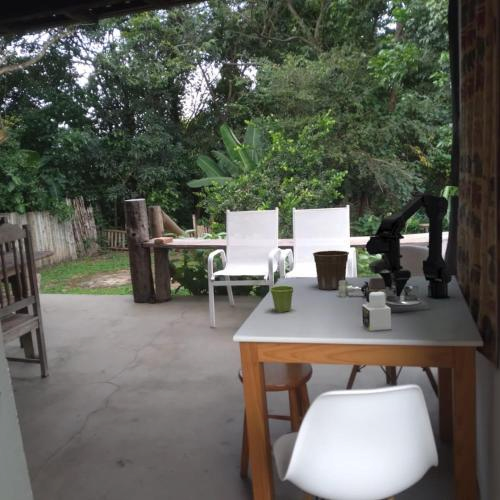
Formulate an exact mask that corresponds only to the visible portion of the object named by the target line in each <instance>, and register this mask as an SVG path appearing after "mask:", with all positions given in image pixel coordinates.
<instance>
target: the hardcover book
mask: <svg viewBox="0 0 500 500" xmlns="http://www.w3.org/2000/svg"><path fill="white" fill-rule="evenodd" d="M405 285H408V284H407V283H406V284H405ZM391 286H395V283H394V281H392V285H391ZM368 287H369V289H368V291H371V290H380V291H383V292H385V293H386V287H385V284H384V281H383V278H382V277H377V278H376V277H371V278H370V279H369V282H368ZM401 293H404V288H403V290H402V292H401Z"/></svg>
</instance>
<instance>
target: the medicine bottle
mask: <svg viewBox="0 0 500 500" xmlns="http://www.w3.org/2000/svg"><path fill="white" fill-rule="evenodd" d="M365 299H366V302H365V304H362V305H361V306H362V307H361V308H362V309H361V313H362V325H363V327H364V328H365V329H367V330H368V331H369V332H374V331H384V330H387V331H388V330H391V329H392V318H391V317H392V313H391V308H390V307H388V306H387V305H385V304H386V292H383V291H380V290H371V291H368V292H367V293H366V297H365Z"/></svg>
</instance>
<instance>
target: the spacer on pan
mask: <svg viewBox="0 0 500 500" xmlns="http://www.w3.org/2000/svg"><path fill="white" fill-rule="evenodd" d="M403 296H404V299H405V300H409V301H414V300H418V298H419V285H417V284H407V285H405V286H404V292H403Z"/></svg>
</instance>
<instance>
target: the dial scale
mask: <svg viewBox="0 0 500 500" xmlns="http://www.w3.org/2000/svg"><path fill="white" fill-rule="evenodd" d="M385 305H387V306H388V307H390V308H391V314H393V313H394V314H395V313H403V312H405V313H406V312H414V311H415V312H416V311H426V309H429V310H430V304H429V303H428V302H426V301H424V300H422V299H420V298H419V297H418V300H414V301H409V300H405V299H404V295H400V301H399V302H388V301H386V304H385Z"/></svg>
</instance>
